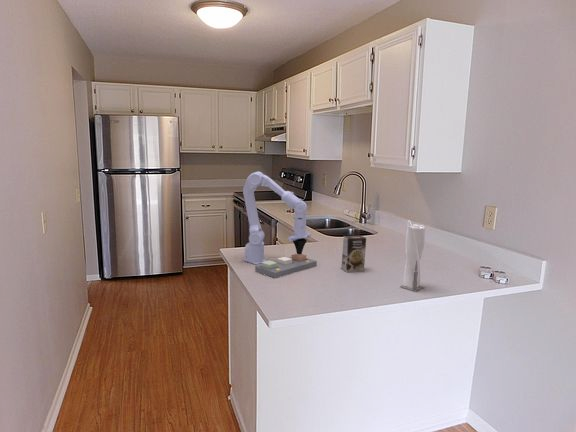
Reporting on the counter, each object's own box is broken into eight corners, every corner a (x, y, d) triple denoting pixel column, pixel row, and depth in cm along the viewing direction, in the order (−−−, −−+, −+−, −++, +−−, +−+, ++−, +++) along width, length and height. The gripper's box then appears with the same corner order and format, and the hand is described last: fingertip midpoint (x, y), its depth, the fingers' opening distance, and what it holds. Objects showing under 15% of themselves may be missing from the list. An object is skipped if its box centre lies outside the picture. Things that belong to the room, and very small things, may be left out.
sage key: (261, 268, 182) (261, 262, 182) (269, 266, 186) (269, 260, 185) (268, 271, 179) (269, 264, 178) (277, 269, 182) (277, 262, 182)
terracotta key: (291, 260, 196) (291, 254, 196) (298, 258, 200) (298, 253, 199) (299, 263, 193) (299, 257, 193) (306, 261, 197) (306, 255, 196)
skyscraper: (396, 286, 168) (401, 220, 164) (406, 282, 174) (411, 218, 169) (415, 291, 162) (421, 223, 158) (424, 287, 168) (430, 221, 163)
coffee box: (346, 272, 185) (348, 238, 182) (341, 268, 191) (342, 235, 188) (364, 271, 188) (366, 237, 185) (358, 267, 194) (360, 234, 191)
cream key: (277, 264, 189) (277, 258, 189) (284, 262, 193) (284, 256, 192) (284, 267, 186) (284, 260, 185) (292, 265, 189) (292, 258, 189)
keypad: (255, 271, 183) (255, 265, 183) (296, 260, 203) (297, 255, 203) (275, 278, 174) (275, 272, 174) (316, 266, 194) (316, 260, 194)
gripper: (295, 229, 186) (295, 258, 188) (316, 225, 196) (315, 252, 198) (285, 227, 190) (284, 255, 193) (305, 223, 201) (304, 250, 203)
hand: (299, 253), depth 196 cm, fingers closed
